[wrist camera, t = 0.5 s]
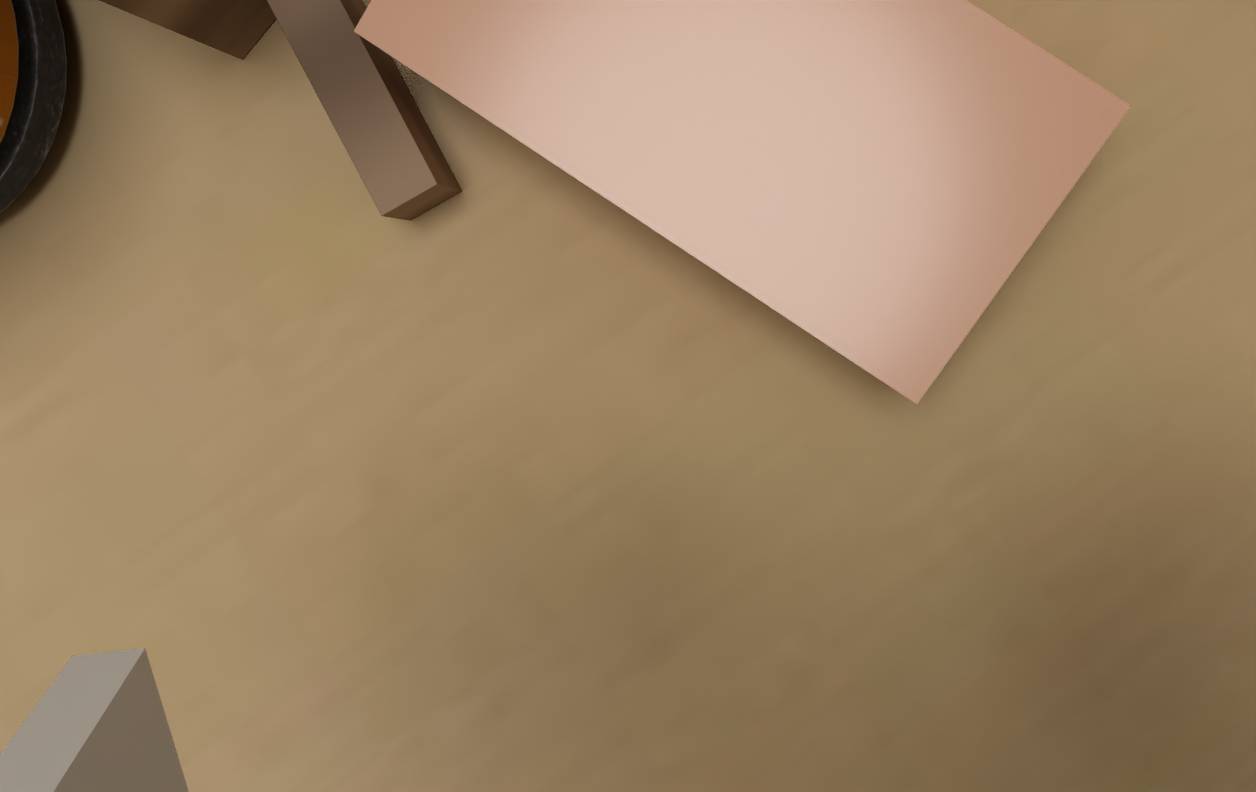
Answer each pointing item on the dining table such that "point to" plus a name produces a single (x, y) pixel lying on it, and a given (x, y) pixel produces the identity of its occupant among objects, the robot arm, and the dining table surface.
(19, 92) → the canister
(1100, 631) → the dining table surface
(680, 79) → the pink foam brick
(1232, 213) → the dining table surface
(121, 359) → the dining table surface
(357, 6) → the shelf
